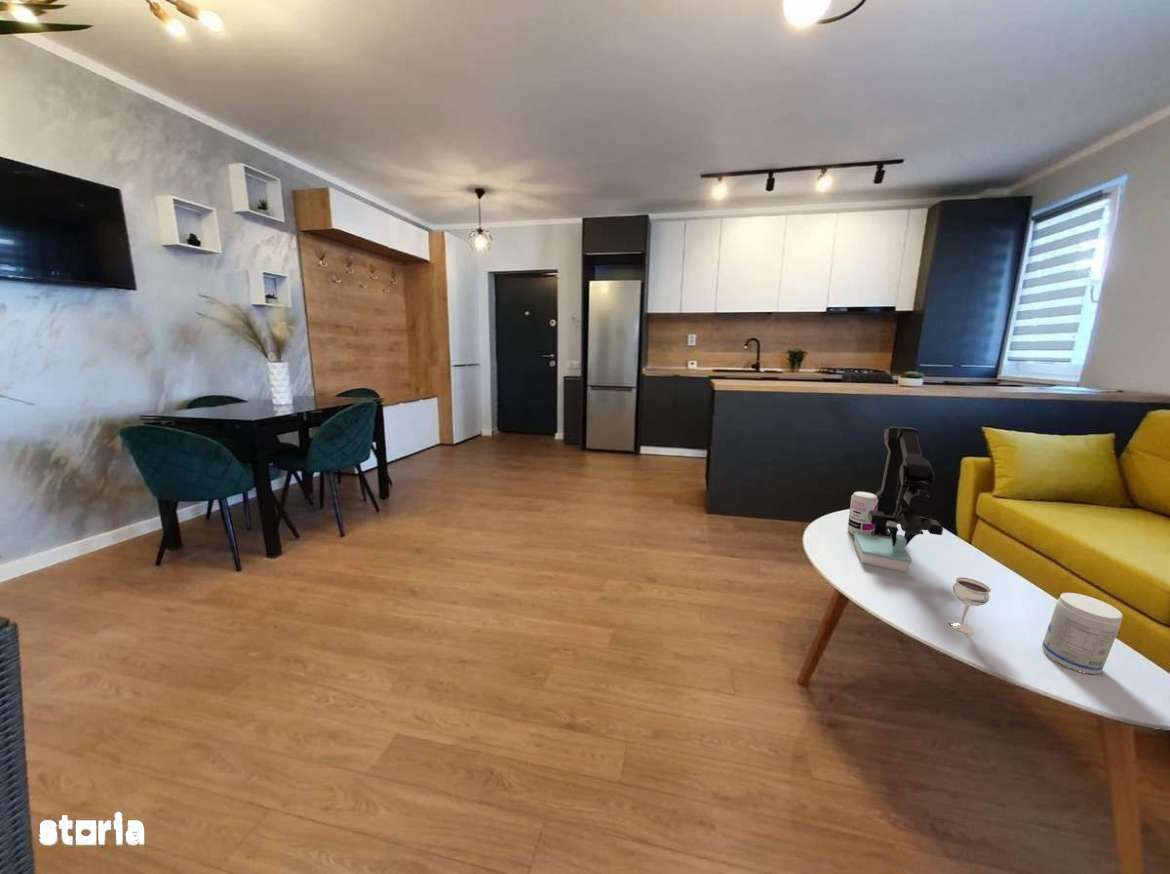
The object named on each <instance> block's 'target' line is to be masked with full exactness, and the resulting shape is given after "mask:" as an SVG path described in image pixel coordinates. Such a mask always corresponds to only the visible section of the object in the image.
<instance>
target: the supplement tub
mask: <svg viewBox="0 0 1170 874" xmlns="http://www.w3.org/2000/svg"><path fill="white" fill-rule="evenodd" d="M1055 604H1056V605H1055V606H1054V610H1053V612H1052V616H1051V618H1050V621H1049V624H1048V626H1047V627H1048V628H1047V629H1046V632H1045V635H1044V638H1043V641H1042V644H1041V648H1042V651H1043V652H1044V653H1045V655H1046V656H1047V655H1048V656H1047V657H1049V658H1050V659H1051V660H1052V659H1053V661H1054V660H1055V661H1054V662H1056V663H1057V662H1058V663H1057V664H1059V663H1060V664H1059V665H1061V664H1062V665H1061V666H1063V665H1064V667H1065V666H1066V667H1065V668H1067V667H1069V668H1068V669H1070V668H1071V669H1070V670H1072V669H1074V670H1073V671H1075V670H1077V671H1076V672H1078V671H1081V672H1080V673H1082V672H1085V673H1084V674H1086V673H1092V674H1091V675H1097V674H1096V673H1098V674H1101V672H1103V669H1104V667H1105V665H1106V662H1107V659H1108V657H1109V655H1110V652H1111V650H1112V647H1113V644H1114V642H1115V640H1116V637H1117V635H1118V632H1119V629H1120V628H1121V625H1122V620H1123V618H1124V617H1123V613H1122V612H1121V611H1120V610H1119V609H1118V608H1116V607H1115V606H1113V605H1111V604H1109V603H1107V602H1104V601H1103V600H1100V599H1097V598H1094V597H1092V596H1088V595H1086V594H1085V595H1084V594H1081V593H1076V592H1063V593H1061V594H1060V596H1059V598H1058V599H1057V601H1056V603H1055Z"/></svg>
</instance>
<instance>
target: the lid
mask: <svg viewBox="0 0 1170 874" xmlns="http://www.w3.org/2000/svg"><path fill="white" fill-rule="evenodd" d="M853 536H854V540H855V539H856V541H857V543H858V545H859V548H860V550H861V552H862V554H865V555H870V556H876V557H881V558H886V559H892V560H897V561H902V562H908V563H909V564H912V562H913V559H912V558H911V556H910V555H909V553H908V552H907V550H906V547H907V546H906V542H907V540H906V539H905V538H904V535H902V534H897V535H896V543H895V546H893V545H892V542H891V538H886V537H880V536H874V535H873V536H870V535H864V534H858V533H854V535H853ZM905 546H906V547H905Z"/></svg>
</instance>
